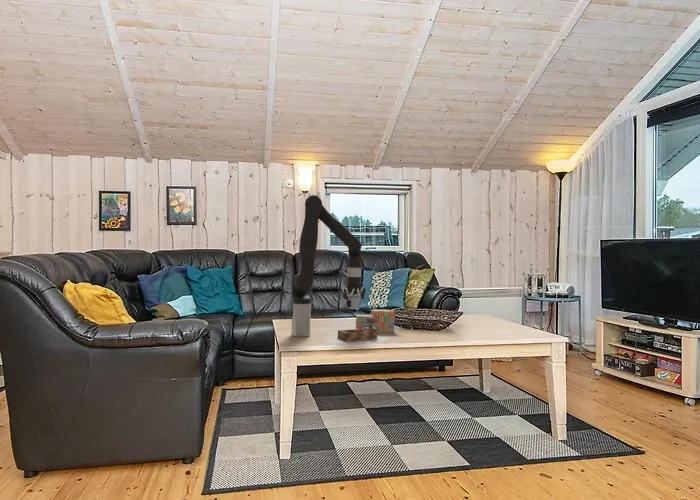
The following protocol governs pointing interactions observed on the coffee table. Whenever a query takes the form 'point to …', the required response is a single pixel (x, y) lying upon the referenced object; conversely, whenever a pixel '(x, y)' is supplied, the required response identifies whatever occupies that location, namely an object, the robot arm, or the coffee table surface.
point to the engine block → (355, 302)
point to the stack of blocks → (378, 320)
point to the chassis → (358, 333)
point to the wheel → (371, 319)
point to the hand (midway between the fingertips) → (353, 307)
